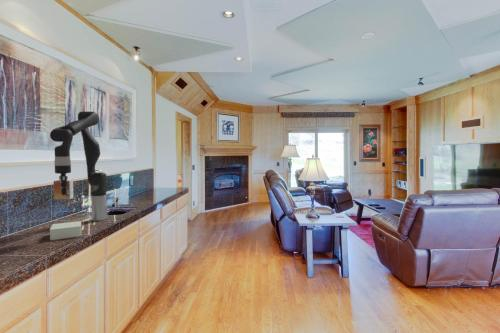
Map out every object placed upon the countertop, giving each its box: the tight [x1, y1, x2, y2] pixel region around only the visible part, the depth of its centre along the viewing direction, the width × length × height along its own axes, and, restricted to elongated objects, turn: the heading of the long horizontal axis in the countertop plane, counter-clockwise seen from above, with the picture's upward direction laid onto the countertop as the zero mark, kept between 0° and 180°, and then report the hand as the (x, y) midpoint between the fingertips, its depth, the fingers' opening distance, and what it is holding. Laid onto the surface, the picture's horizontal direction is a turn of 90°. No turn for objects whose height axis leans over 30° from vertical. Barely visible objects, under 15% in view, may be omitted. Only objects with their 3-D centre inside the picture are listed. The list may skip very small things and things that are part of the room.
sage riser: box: [49, 220, 82, 241], centre depth 155 cm, size 14×14×6 cm
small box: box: [53, 179, 74, 201], centre depth 154 cm, size 8×6×10 cm
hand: (63, 193), depth 154 cm, fingers closed on small box, 7 cm apart
